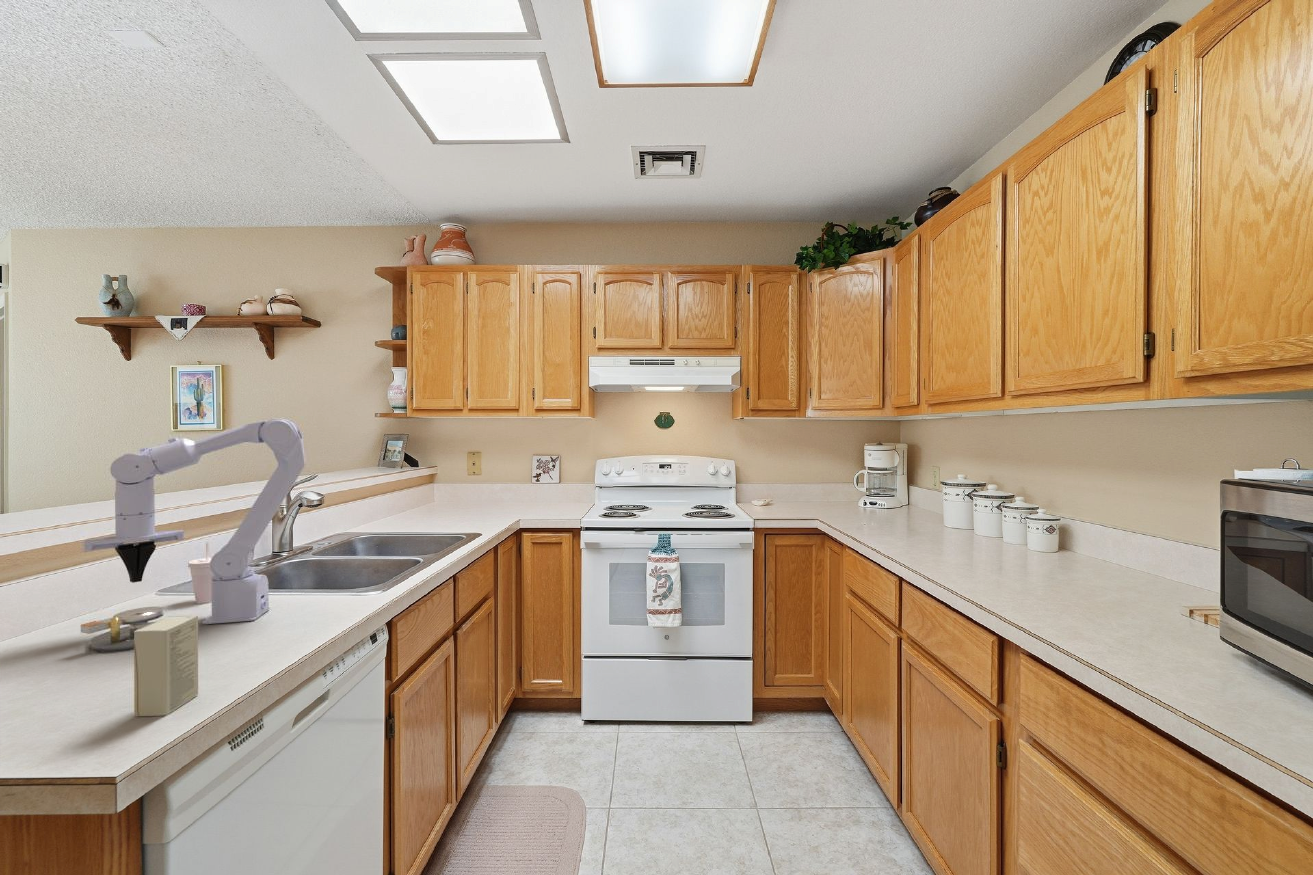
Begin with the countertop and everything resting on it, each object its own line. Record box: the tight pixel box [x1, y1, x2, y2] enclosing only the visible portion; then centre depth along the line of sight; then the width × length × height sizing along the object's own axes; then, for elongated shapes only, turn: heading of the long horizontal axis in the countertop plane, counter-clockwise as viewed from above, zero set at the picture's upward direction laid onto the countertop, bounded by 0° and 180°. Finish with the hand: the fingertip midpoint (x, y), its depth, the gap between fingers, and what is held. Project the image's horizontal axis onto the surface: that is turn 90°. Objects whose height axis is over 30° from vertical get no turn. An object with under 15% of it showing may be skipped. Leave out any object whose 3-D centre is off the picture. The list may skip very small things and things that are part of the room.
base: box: [89, 617, 155, 653], centre depth 104 cm, size 13×13×6 cm
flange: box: [80, 606, 164, 635], centre depth 102 cm, size 12×7×1 cm, turn 164°
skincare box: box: [133, 615, 199, 717], centre depth 78 cm, size 6×4×12 cm
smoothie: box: [187, 541, 214, 605], centre depth 128 cm, size 6×6×14 cm
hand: (135, 581), depth 109 cm, fingers closed
